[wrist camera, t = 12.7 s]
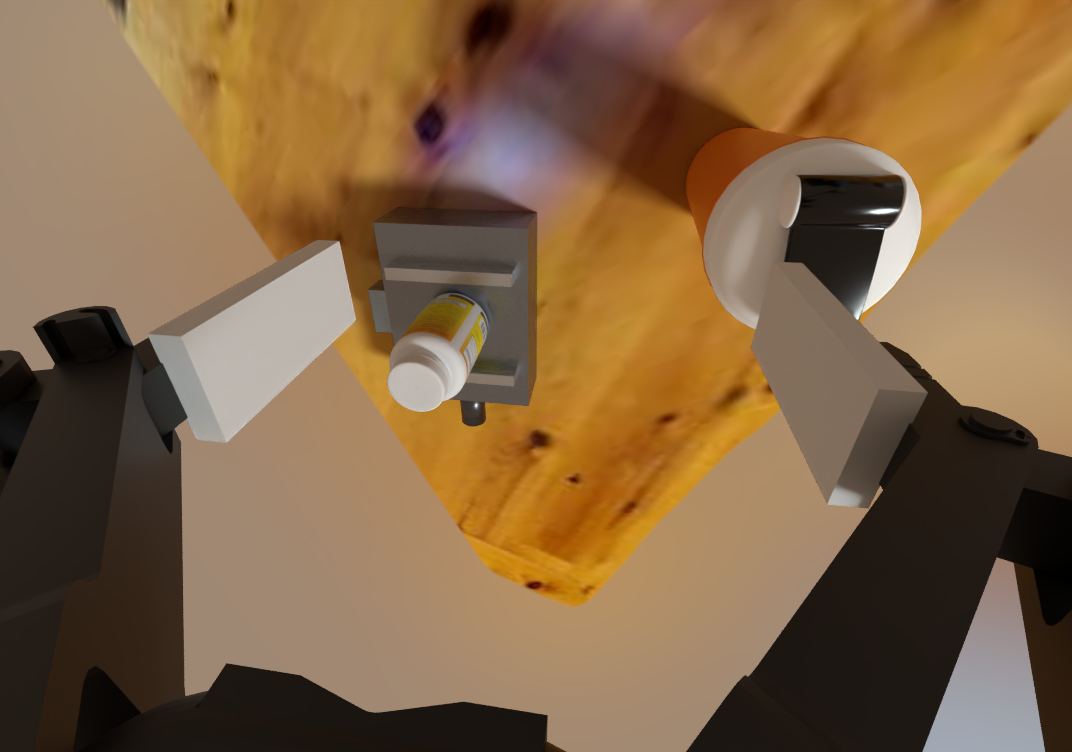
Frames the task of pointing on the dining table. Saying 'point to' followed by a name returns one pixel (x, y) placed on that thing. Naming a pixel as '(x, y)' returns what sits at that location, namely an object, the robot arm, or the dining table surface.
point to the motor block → (466, 290)
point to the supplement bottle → (437, 352)
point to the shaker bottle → (800, 216)
